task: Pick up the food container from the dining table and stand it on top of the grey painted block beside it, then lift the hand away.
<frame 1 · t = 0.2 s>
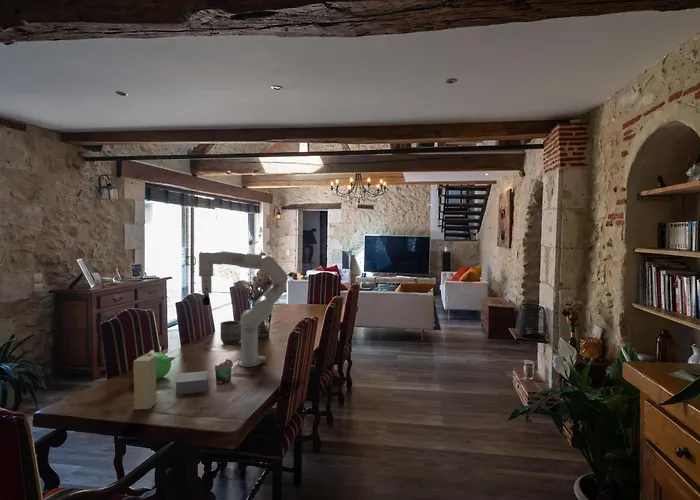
hand: (206, 303, 242), 36 cm above the table, tool pointing down, fingers open, 9 cm apart
beige tall block: (144, 406, 188), on the table
food container: (226, 382, 219), on the table
grey block: (192, 388, 211), on the table
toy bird: (153, 380, 222), on the table
planter: (231, 344, 299), on the table
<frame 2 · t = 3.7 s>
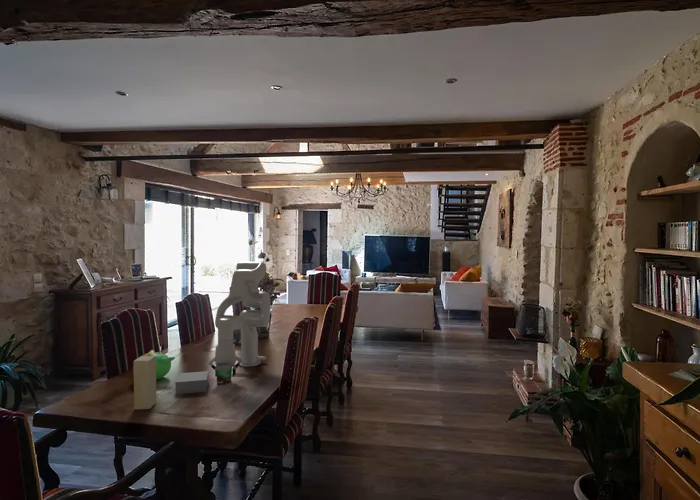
hand: (225, 376, 219), 3 cm above the table, tool pointing down, fingers open, 7 cm apart
food container: (226, 382, 219), on the table, touching gripper
everything else where it was.
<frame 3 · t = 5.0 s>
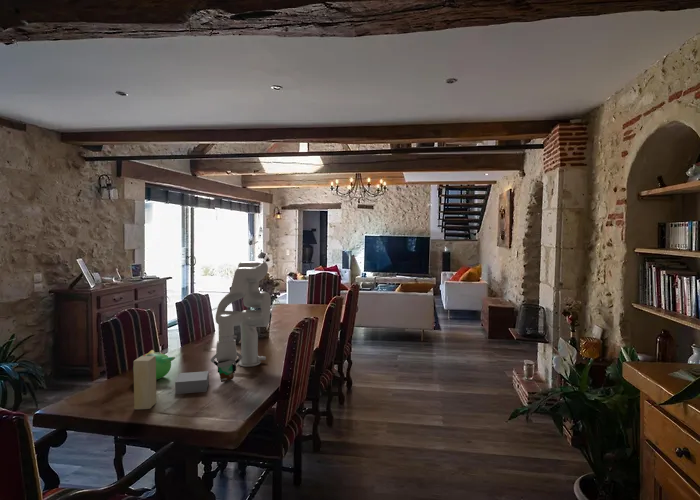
hand: (226, 372, 220), 5 cm above the table, tool pointing down, fingers closed on food container, 6 cm apart
food container: (229, 378, 220), point 1 cm above the table, touching gripper
everything else where it was.
when the fingers open (10 cm above the table, at t = 9.7 s): food container stays where it is, resting on grey block.
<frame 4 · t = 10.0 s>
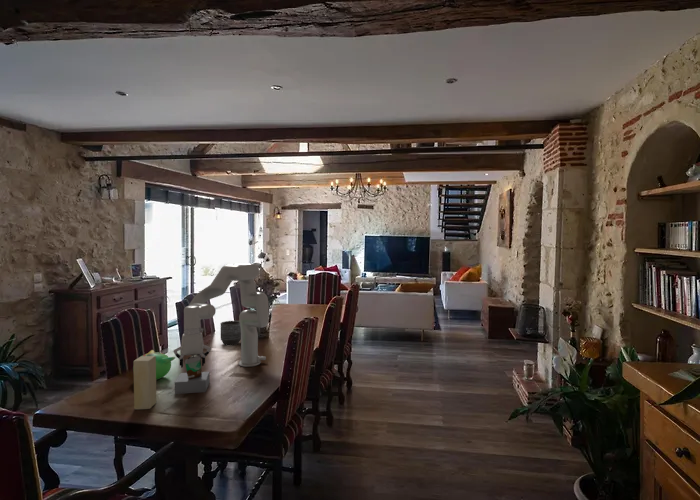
hand: (192, 366, 210), 11 cm above the table, tool pointing down, fingers open, 9 cm apart
food container: (197, 375, 211), point 6 cm above the table, touching grey block, gripper
grey block: (192, 388, 211), on the table, touching food container
everything else where it was.
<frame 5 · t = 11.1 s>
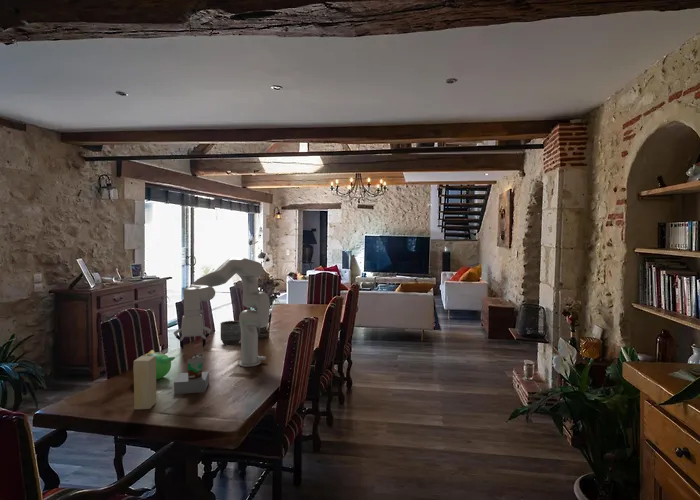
hand: (193, 347, 211), 20 cm above the table, tool pointing down, fingers open, 9 cm apart
food container: (197, 376, 211), point 5 cm above the table, touching grey block
everything else where it was.
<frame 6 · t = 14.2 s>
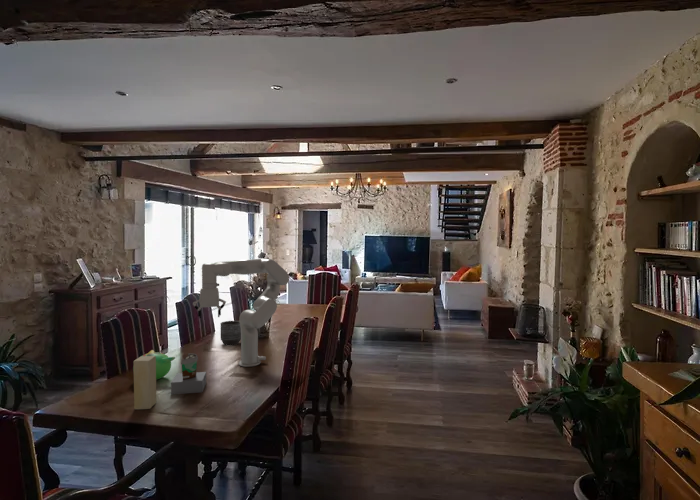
hand: (209, 317, 234), 30 cm above the table, tool pointing down, fingers open, 9 cm apart
food container: (192, 376, 211), point 5 cm above the table, touching grey block
grey block: (189, 389, 210), on the table, touching food container
everything else where it was.
at the end: food container inside the target area on the grey block (1.3 cm from its centre), point 5.9 cm above the grey block's base; food container tilted 2°; the gripper is holding nothing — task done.
